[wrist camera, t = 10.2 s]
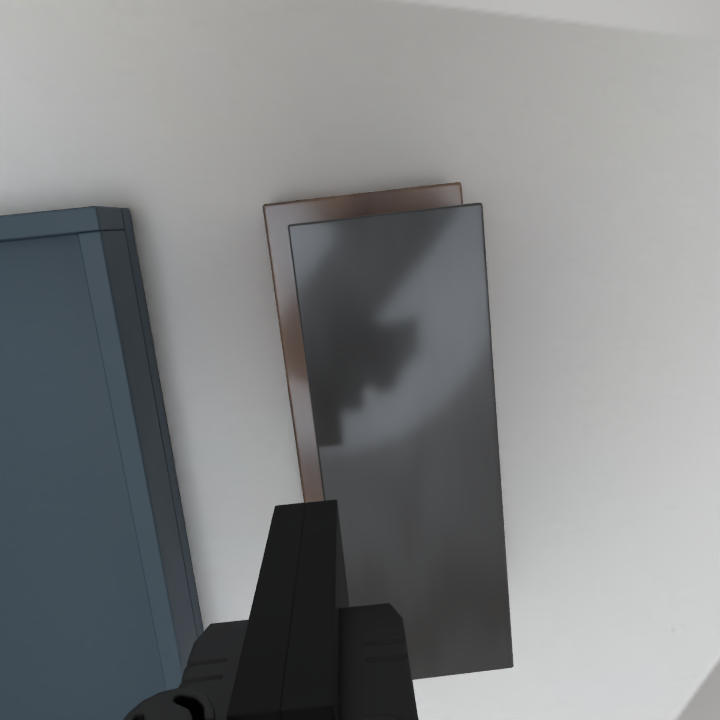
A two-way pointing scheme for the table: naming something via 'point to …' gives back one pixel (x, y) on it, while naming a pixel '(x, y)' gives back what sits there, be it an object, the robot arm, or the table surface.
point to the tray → (85, 478)
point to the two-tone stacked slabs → (400, 408)
